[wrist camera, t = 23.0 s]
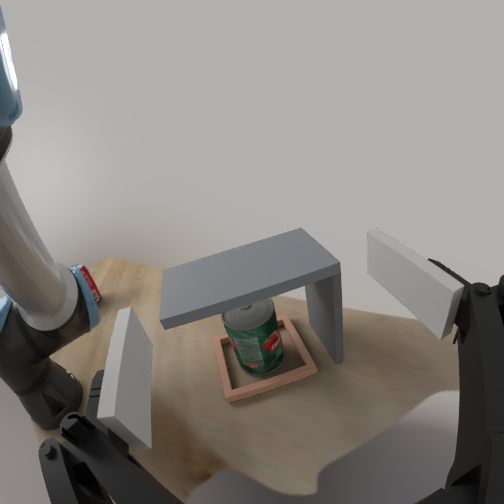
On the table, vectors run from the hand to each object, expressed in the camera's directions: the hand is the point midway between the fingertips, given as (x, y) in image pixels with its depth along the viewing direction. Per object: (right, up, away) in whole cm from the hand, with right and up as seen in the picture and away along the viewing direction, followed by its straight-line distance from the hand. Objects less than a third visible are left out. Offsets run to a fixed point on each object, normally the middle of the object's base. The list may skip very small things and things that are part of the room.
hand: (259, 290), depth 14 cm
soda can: (-48, -13, +60) cm, 78 cm away
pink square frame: (+1, -16, +31) cm, 35 cm away
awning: (+2, -16, +30) cm, 34 cm away
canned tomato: (+1, -16, +31) cm, 35 cm away
